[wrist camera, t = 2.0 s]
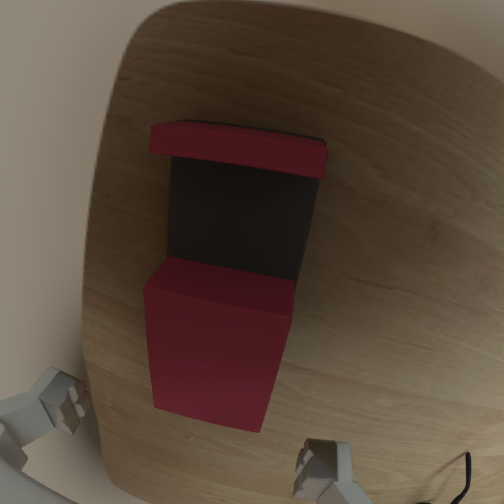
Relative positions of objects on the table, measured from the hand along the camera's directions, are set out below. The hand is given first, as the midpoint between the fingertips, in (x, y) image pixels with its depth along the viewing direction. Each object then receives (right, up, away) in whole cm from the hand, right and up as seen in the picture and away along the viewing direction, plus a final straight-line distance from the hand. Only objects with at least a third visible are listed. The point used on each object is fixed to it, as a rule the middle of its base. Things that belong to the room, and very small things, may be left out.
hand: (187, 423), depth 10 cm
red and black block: (+1, +5, +6) cm, 8 cm away
